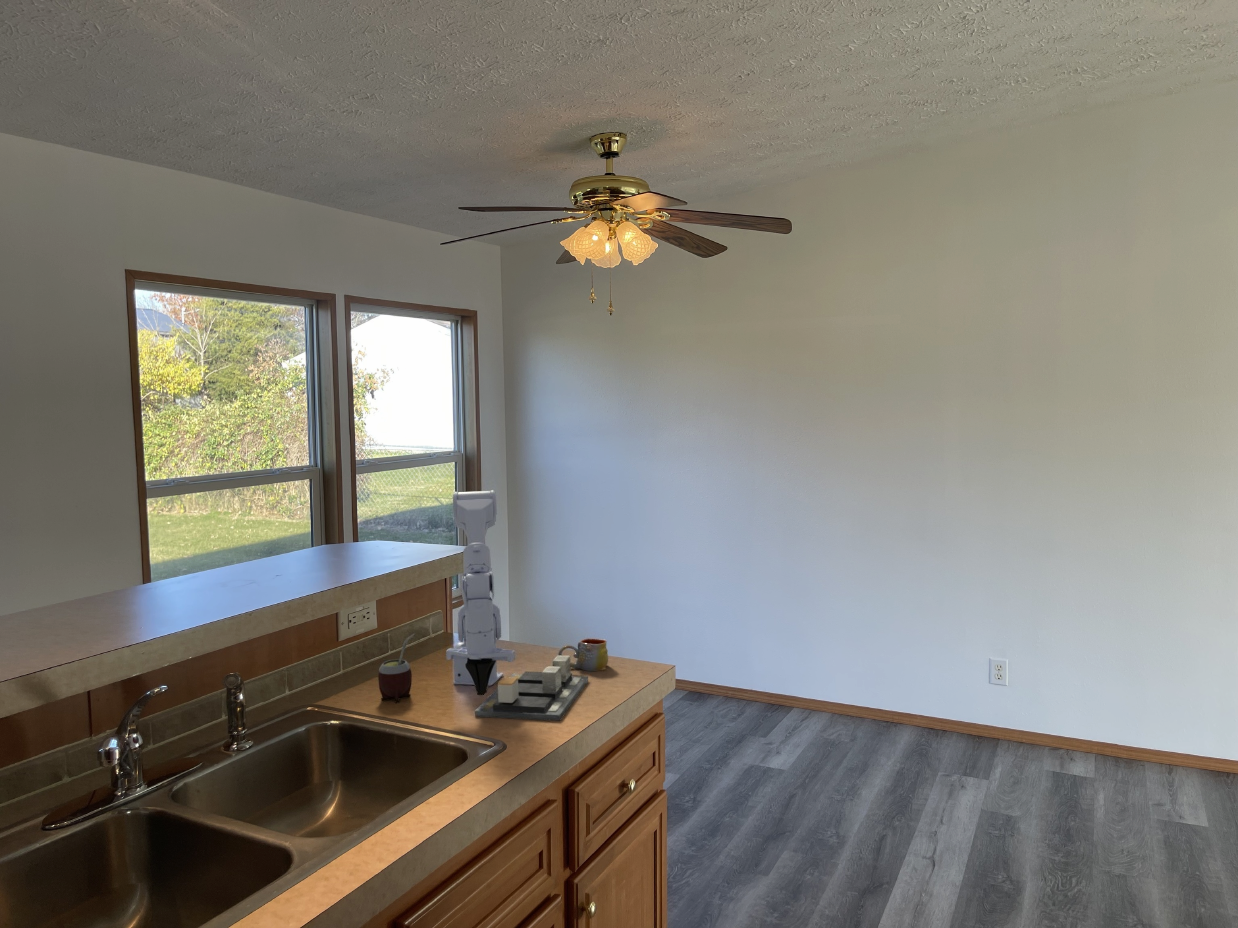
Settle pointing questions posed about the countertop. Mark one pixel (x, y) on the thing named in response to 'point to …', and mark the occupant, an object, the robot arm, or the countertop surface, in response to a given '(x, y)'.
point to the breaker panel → (538, 694)
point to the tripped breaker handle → (508, 689)
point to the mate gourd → (395, 678)
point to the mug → (589, 655)
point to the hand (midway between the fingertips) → (482, 693)
